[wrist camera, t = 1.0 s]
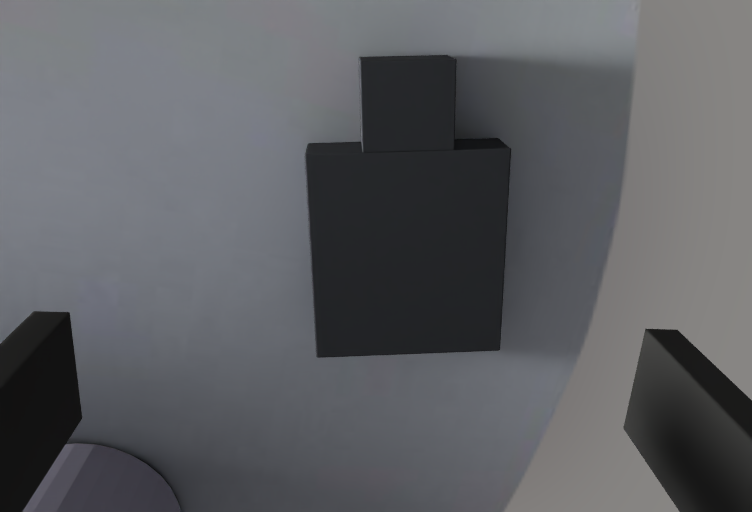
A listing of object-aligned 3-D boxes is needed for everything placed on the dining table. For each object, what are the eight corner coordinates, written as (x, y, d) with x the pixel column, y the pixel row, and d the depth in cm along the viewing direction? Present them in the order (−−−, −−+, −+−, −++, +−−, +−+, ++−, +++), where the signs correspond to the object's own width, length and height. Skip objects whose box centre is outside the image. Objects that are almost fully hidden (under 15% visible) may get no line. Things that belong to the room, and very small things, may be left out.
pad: (502, 53, 29) (516, 57, 27) (489, 327, 34) (500, 350, 32) (302, 58, 29) (299, 62, 27) (318, 334, 34) (316, 358, 32)
